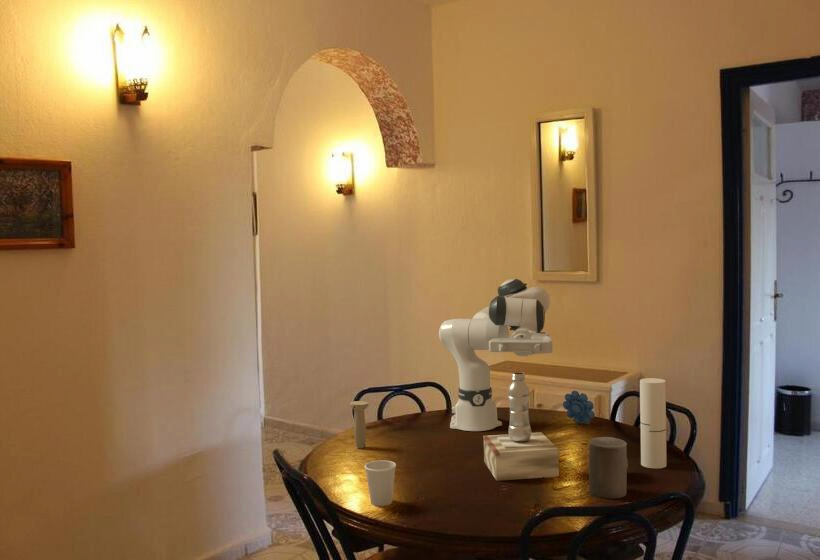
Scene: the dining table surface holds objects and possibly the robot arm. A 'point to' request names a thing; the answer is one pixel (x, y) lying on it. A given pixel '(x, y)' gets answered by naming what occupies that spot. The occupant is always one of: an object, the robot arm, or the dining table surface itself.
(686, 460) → the dining table surface
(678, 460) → the dining table surface
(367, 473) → the dixie cup
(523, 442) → the riser block
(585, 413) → the grapes
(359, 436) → the handle
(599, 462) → the pillar candle
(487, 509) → the dining table surface
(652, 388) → the cylindrical container
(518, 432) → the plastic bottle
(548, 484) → the dining table surface
